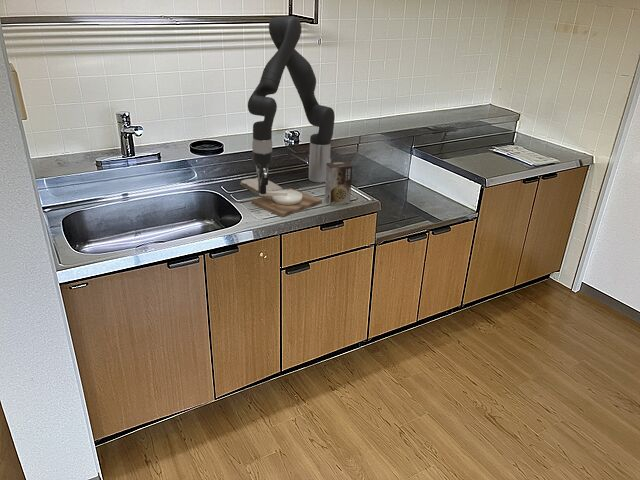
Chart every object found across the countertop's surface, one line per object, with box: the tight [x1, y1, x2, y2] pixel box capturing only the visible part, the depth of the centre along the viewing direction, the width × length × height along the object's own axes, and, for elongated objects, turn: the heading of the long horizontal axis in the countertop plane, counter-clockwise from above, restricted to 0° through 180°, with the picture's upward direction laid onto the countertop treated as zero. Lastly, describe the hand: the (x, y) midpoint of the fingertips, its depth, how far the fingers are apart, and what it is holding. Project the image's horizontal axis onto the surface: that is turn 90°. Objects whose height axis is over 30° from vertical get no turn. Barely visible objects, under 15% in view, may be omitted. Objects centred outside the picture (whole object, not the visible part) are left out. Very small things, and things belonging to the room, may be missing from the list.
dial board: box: [250, 187, 323, 218], centre depth 209 cm, size 22×18×2 cm
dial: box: [258, 179, 302, 205], centre depth 207 cm, size 18×12×8 cm
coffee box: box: [324, 161, 353, 206], centre depth 211 cm, size 9×6×16 cm
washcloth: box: [239, 177, 284, 197], centre depth 224 cm, size 12×18×3 cm, turn 39°
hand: (262, 191), depth 206 cm, fingers closed on dial, 3 cm apart
